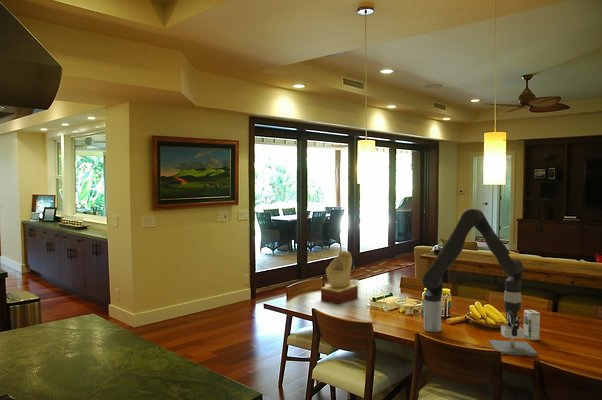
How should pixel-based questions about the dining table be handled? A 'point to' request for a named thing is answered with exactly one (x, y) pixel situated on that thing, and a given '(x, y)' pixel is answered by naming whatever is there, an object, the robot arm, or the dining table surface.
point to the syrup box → (531, 324)
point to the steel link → (507, 332)
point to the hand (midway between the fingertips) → (512, 333)
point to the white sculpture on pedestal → (340, 281)
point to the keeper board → (513, 347)
